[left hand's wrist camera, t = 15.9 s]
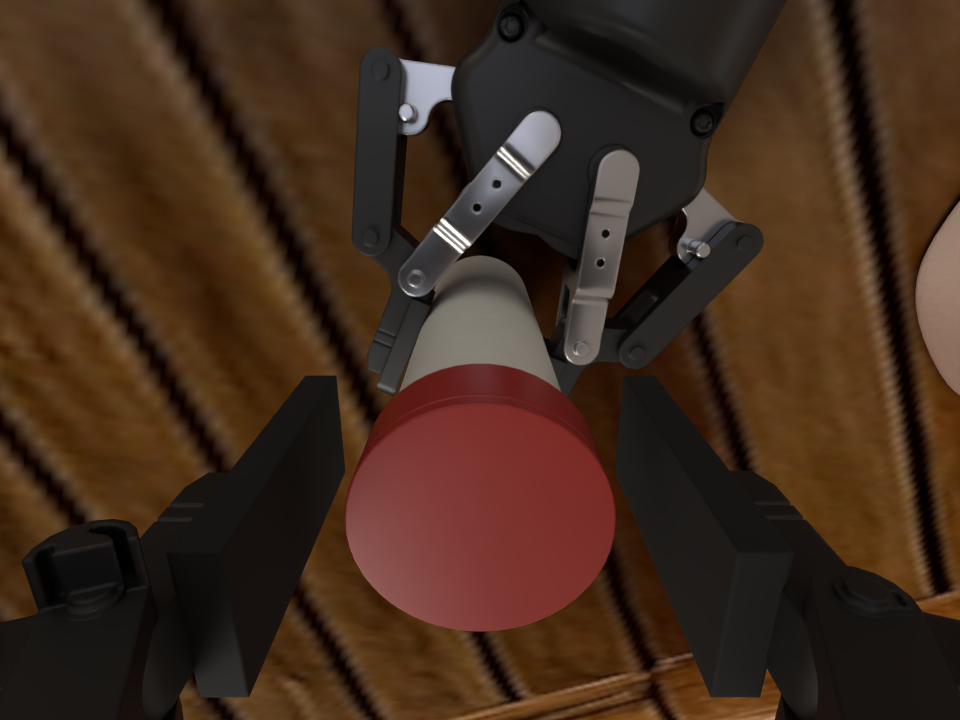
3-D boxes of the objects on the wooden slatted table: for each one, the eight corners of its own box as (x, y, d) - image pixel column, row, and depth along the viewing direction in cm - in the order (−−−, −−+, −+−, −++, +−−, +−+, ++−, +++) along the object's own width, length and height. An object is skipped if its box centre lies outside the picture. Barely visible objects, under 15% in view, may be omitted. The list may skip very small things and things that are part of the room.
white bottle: (527, 347, 27) (588, 596, 12) (434, 349, 27) (376, 599, 12) (528, 254, 25) (600, 402, 10) (430, 256, 25) (357, 406, 10)
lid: (597, 355, 11) (620, 395, 9) (594, 557, 13) (614, 626, 11) (349, 369, 11) (324, 411, 9) (379, 568, 13) (363, 638, 11)
